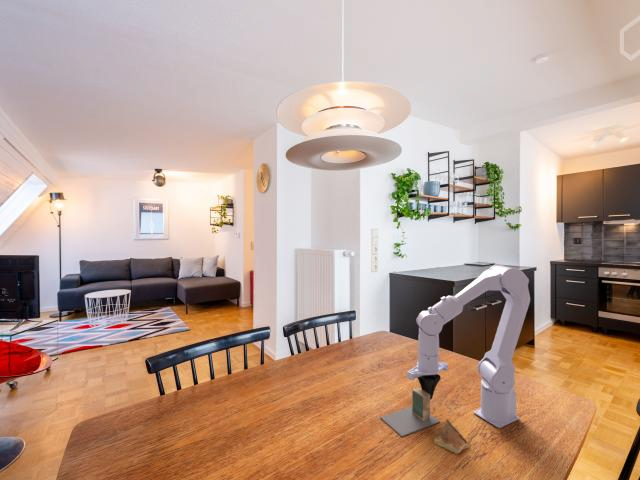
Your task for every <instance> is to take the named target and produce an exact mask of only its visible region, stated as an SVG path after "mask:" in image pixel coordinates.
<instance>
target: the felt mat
mask: <svg viewBox="0 0 640 480" xmlns="http://www.w3.org/2000/svg"><path fill="white" fill-rule="evenodd" d="M380 419H381V420H382V421H383V422H384V423H386V425H387V426H389V428H391V429H392V430H393V431H394V432H396V433H397V434H398V435H399V436H400V438H401V437H402V438H403V437H405V436H408V435H410V434H413V433H416V432H418V431H422V430H423V429H426V428H429V427H430V426H433V425H436V424H438V423H441V420H439V419H438V418H436V417H435V416H434V415H432V414H431V413H430V419H428V420H425V421H423V420H422V419H420V418H419V417H417V416H416V415H415V414H413V413H412V405H411V406H409V407H406V408H403V409H399V410H396V411H394V412H392V413H388V414H385V415H382V416H380Z"/></svg>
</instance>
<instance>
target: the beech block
mask: <svg viewBox="0 0 640 480" xmlns="http://www.w3.org/2000/svg"><path fill="white" fill-rule="evenodd" d="M411 390H412V393H411V396H412V397H411V398H412V400H411V401H412V402H411V406H412V413H413V414H415V415H416V416H417V417H419V418H420V419H422V420H423V421H425V420H428V419H430V414H431V413H430V412H431V400H430V394H428V393H427V392H425V391H423V390H422V388H421V387H418V386H417V387H415V388H413V389H411Z"/></svg>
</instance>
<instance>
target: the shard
mask: <svg viewBox="0 0 640 480" xmlns="http://www.w3.org/2000/svg"><path fill="white" fill-rule="evenodd" d="M433 439H434V441H433V443H434V444H435V445H437V446H439V447H443V448H444V449H447V450H449V451H451V452H453V453H455V454H459V453H461V451H463V450H466V449H469V448H470V445H471V444H470V443H468V441H467V440H466V439H465V438H464V437H463V435H462V434H461V433H460V432H459V430H458V429H457V428H456V427H455V426H454V425H453V424H452V423H451V422H450V421H449V419H446V420H445V421H444V424H442V426H441V427H440V428H439V429H438V430H437V433H436V434H435V437H434V438H433Z"/></svg>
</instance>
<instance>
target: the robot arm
mask: <svg viewBox="0 0 640 480" xmlns="http://www.w3.org/2000/svg"><path fill="white" fill-rule="evenodd" d="M529 282H530V279H529V278H528V277H527V275H526V274H525V273H524V272H523V271H522V270H521V269H519V268H516V267H509V266H507V265H506V266H505V265H502V264H494V265H492V266H490V268H488V269H486V270H484V271H483V272H482V273H481V274H480V275H479V276H478V277H477V278H475V279H474V280H473V281H472V282H470V283H469V284H468V285H467V286H466V287H464V288H463V289H462V290H461V291H459V292H458V293H456V294H455V295H447V296H442V297H440V301H439V302H437V303H435V304H434V305H433V306H429V307H428V308H427V310H422V311H421V312H419V314H418V316H417V317H416V319H415V321H416V324H417V326H418V335H417V336H418V339H417V340H418V341H417V342H418V345H417V346H418V349H417V352H418V353H417V362H416V364H415V365H416V366H414V367H412V369H410V370H407V372H406V378H407V379H409V380H410V381H415V379H417V381H418V383H419V385H420V389H422V390H423V391H425V392H427V393H428V394H430V401H431V400H432V399H433V396H434V393H435V391H436V387H437V385H438V383H439V382H440V381H441V378H442V377H441V375H440V374H439V373H441V371H445V372H446V371H449V364H448V363H447V362H445V361H439V360H440V359H439V357H440V355H439V354H440V352H439V351H440V337H439V335H440V333H441V332H442V330H443V326H444V325H446V324H447V323H449V322H450V321H451V320H453V319H454V318H455V317H457V316H458V315H460V314H461V313H462V312H463V309H464V306H465V305H466V304H468V303H470V302H471V301H473V300H474V299H476V298H478V297H479V296H481V295H482V294H484V293H486V292H487V291H499V292H501V294H502V295H503V297H504V299H505V304H504V307H503V310H502V313H501V316H500V319H499V323H498V326H497V329H496V333H495V336H494V340H493V342H492V345H491V349H490V350H488V351H486V352H485V353H484V356H483V358H482V359H481V360H480V361H479V362H478V364H477V372H478V374H479V375H480V376H481V380H480V408H479V409H476V410H473V414H475V415H476V416H478V417H480V418H481V419H483V420H485V422H488V423H490V424H491V425H493V426H494V427H497V428H498V429H501V428H504V427H505V426H507V425H509V424H511V423H514V422H516V421H518V420H520V417H519V416H518V415H517V393H516V390H515V389H514V388H515V386H516V385H515V384H516V380H515V373H516V368H515V364H514V361H513V357H514V354H515V350H516V347H517V344H518V342H519V338H520V334H521V332H522V328H523V325H524V321H525V319H526V316H527V312H528V309H529V307H530V303H531V295H530V290H529Z"/></svg>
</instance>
